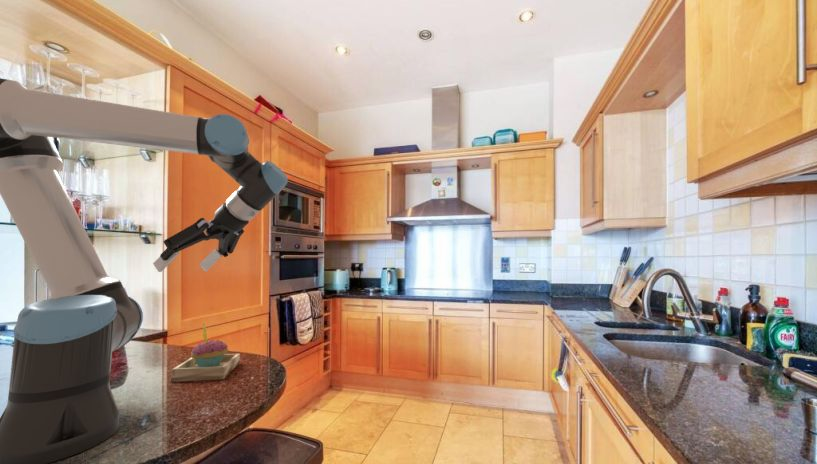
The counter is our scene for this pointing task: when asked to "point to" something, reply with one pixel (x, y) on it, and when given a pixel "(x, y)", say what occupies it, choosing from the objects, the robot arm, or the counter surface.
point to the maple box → (204, 369)
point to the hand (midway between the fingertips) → (181, 267)
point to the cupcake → (209, 352)
